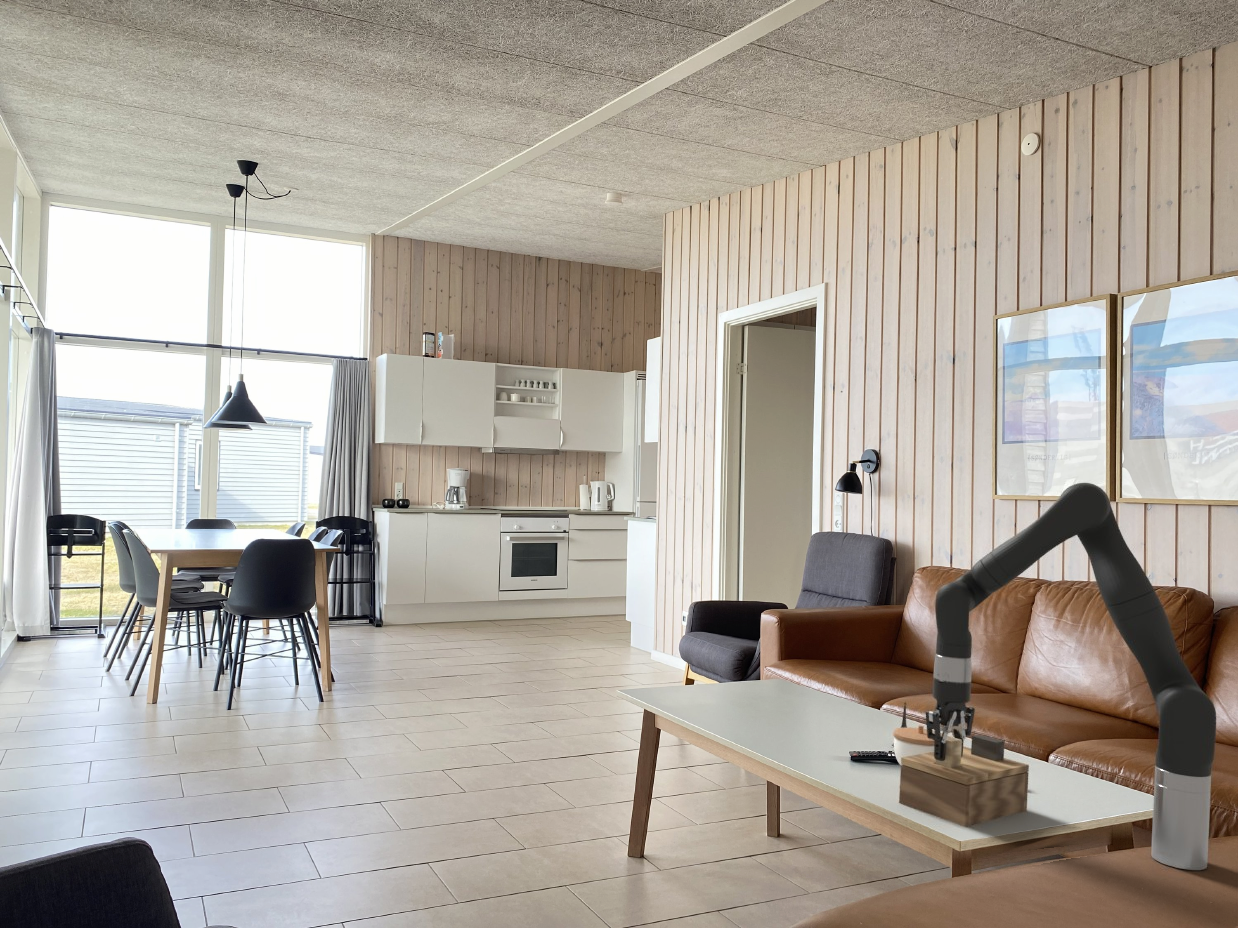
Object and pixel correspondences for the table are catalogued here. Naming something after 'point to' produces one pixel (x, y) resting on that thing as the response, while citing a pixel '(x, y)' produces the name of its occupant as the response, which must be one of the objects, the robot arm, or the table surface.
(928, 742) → the lidded bowl
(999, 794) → the wooden rectangular box
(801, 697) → the table surface
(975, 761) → the wooden box lid
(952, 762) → the key peg
